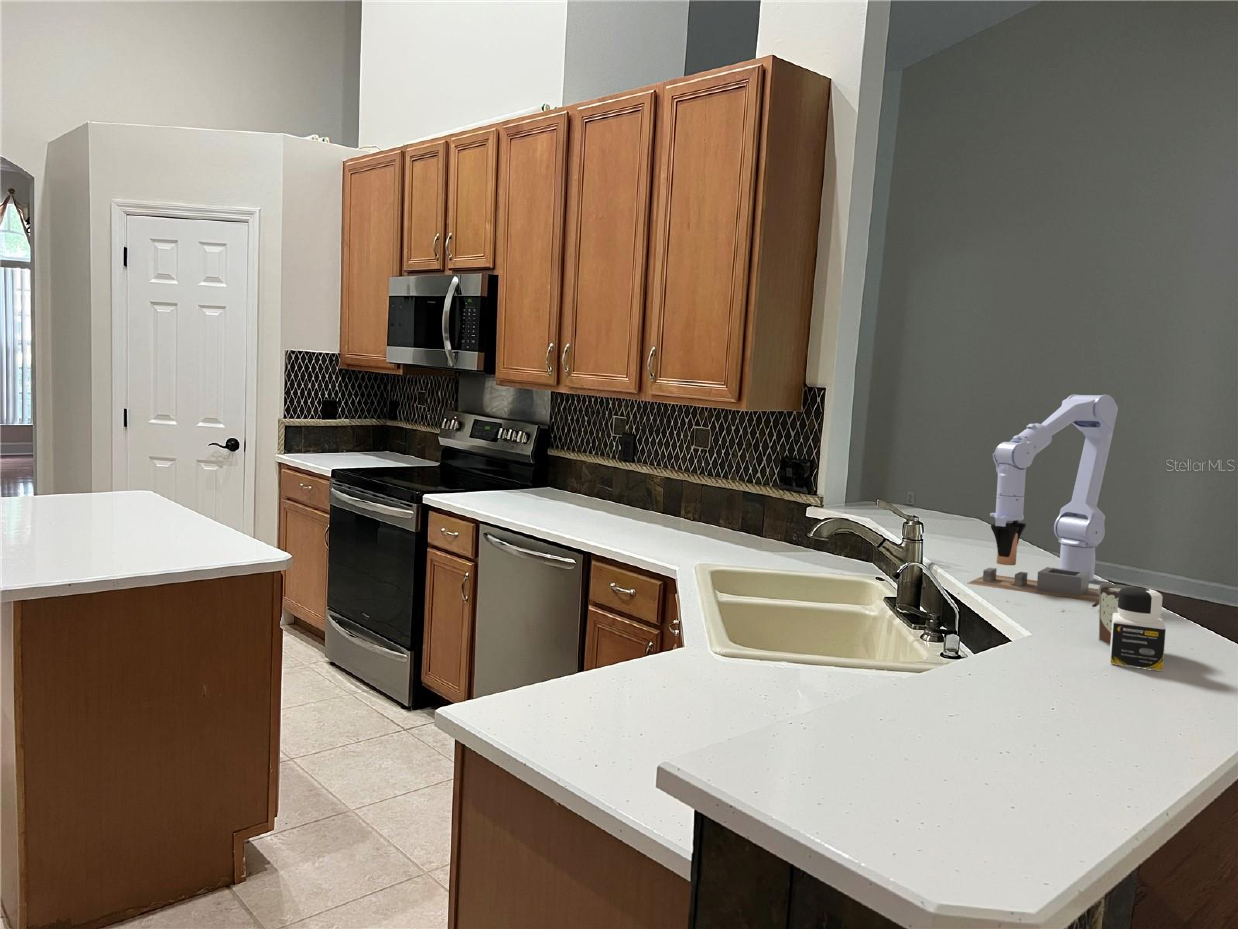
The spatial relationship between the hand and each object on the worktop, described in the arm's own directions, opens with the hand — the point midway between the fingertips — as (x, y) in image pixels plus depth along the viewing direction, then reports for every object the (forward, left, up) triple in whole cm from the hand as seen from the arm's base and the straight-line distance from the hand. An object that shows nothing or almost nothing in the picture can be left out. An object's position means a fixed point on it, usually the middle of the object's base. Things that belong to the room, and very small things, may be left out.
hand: (1006, 555), depth 205 cm
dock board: (0, +7, -7) cm, 10 cm away
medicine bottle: (+51, +33, -7) cm, 61 cm away
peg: (0, 0, -2) cm, 2 cm away
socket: (0, +12, -7) cm, 14 cm away
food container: (+41, +31, -7) cm, 52 cm away
